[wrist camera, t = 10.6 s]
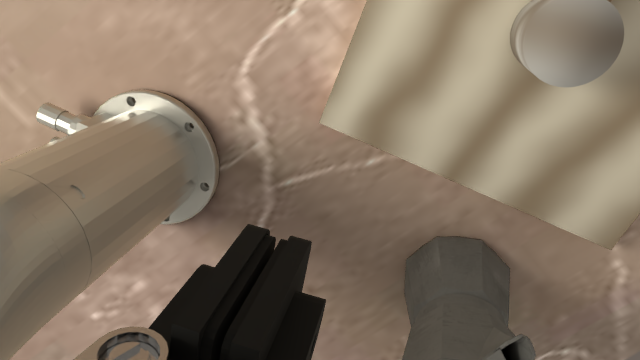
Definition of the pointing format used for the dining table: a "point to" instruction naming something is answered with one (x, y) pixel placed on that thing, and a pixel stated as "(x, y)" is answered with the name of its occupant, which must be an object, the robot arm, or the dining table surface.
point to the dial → (567, 39)
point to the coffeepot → (460, 304)
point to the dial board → (495, 112)
